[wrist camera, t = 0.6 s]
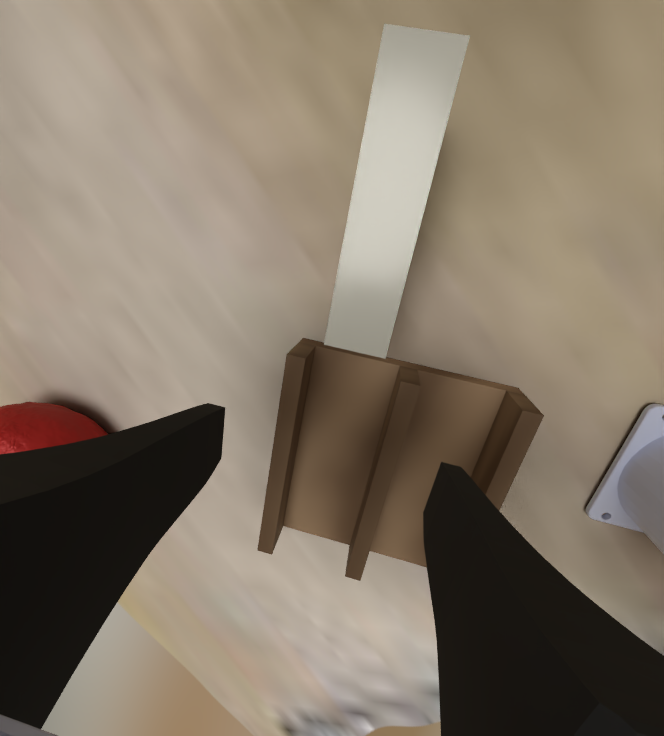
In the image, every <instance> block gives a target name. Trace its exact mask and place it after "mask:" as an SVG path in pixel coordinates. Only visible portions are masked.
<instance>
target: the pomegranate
mask: <svg viewBox="0 0 664 736" xmlns="http://www.w3.org/2000/svg"><path fill="white" fill-rule="evenodd" d="M104 435H108V434H107V433H106V432H105V431H104V430H103V429H102V428H101V427H100V426H99V425H98V424H97V423H96V422H95V421H93V420H92V419H90V418H89V417H87V416H85V415H83V414H80V413H77V412H75V411H72V410H70V409H68V408H66V407H64V406H60V405H54V404H50V403H36V402H26V403H21V404H12V405H6V406H2V407H0V454H7V453H15V452H22V451H28V450H34V449H40V448H46V447H52V446H58V445H64V444H69V443H74V442H78V441H83V440H87V439H92V438H96V437H100V436H104Z"/></svg>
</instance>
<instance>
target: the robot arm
mask: <svg viewBox="0 0 664 736" xmlns="http://www.w3.org/2000/svg"><path fill="white" fill-rule="evenodd" d="M663 415H664V405H661V404H651V405H648V406H647V407H646V408H645V409H644V410H643V412H642V413H641V415H640V417H639V419H638V420H637V422H636V424H635V425H634V427H633V429H632V431H631V432H630V434H629V436H628V437H627V439H626V441H625V442H624V444H623V446H622V448H621V449H620V451H619V453H618V454H617V456H616V458H615V459H614V461H613V463H612V465H611V466H610V468H609V470H608V471H607V473H606V475H605V477H604V478H603V480H602V482H601V483H600V485H599V487H598V488H597V490H596V492H595V494H594V495H593V497H592V499H591V500H590V502H589V504H588V506H587V507H586V513H587V515H588V516H589V517H590V518H591V519H593V520H597V521H601V522H605V523H608V524H612V525H616V526H620V527H624V528H628V529H631V530H635V531H639V532H643V533H645V534H646V535H647V537H648V538H649V539H650V540H651V541H652V542H653V543H654V544H655V545H656V547H657V548H658V549H659V550H660V551H661V552H662V553H663V554H664V418H662V416H663ZM224 416H225V407H221V406H217V405H213V404H209V403H207V404H203V405H200V406H196V407H193V408H190V409H187V410H184V411H181V412H178V413H175V414H172V415H170V416H167V417H164V418H161V419H158V420H155V421H152V422H149V423H145V424H142V425H139V426H136V427H132V428H129V429H126V430H122V431H119V432H116V433H112V434H108V435H104V436H100V437H96V438H92V439H87V440H83V441H78V442H74V443H69V444H64V445H58V446H52V447H46V448H40V449H34V450H28V451H22V452H15V453H7V454H0V736H57V735H55V734H52V733H49V732H46V731H44V730H41V728H42V726H43V724H44V723H45V721H46V719H47V718H48V716H49V714H50V712H51V711H52V709H53V707H54V705H55V704H56V702H57V700H58V699H59V697H60V695H61V693H62V692H63V689H64V688H65V686H66V684H67V683H68V681H69V680H70V678H71V676H72V674H73V673H74V671H75V669H76V668H77V666H78V664H79V663H80V661H81V659H82V658H83V656H84V654H85V653H86V651H87V650H88V648H89V646H90V644H91V643H92V641H93V640H94V638H95V637H96V635H97V633H98V632H99V630H100V628H101V627H102V625H103V623H104V622H105V620H106V619H107V617H108V616H109V614H110V612H111V611H112V609H113V608H114V606H115V605H116V603H117V602H118V600H119V599H120V597H121V595H122V594H123V592H124V591H125V589H126V588H127V586H128V585H129V583H130V582H131V580H132V579H133V577H134V576H135V574H136V573H137V571H138V570H139V568H140V567H141V565H142V564H143V562H144V561H145V559H146V558H147V556H148V555H149V554H150V552H151V551H152V550H153V548H154V547H155V546H156V544H157V543H158V542H159V540H160V539H161V538H162V537H163V535H164V534H165V533H166V532H167V531H168V529H169V528H170V527H171V526H172V525H173V523H174V522H175V521H176V520H177V518H178V517H179V516H180V515H181V514H182V512H183V511H184V510H185V509H186V508H187V506H188V505H189V504H190V503H191V501H192V500H193V499H194V498H195V496H196V495H197V494H198V493H199V492H200V490H201V489H202V488H203V486H204V485H205V484H206V482H207V481H208V479H209V478H210V476H211V475H212V473H213V471H214V470H215V468H216V466H217V465H218V463H219V461H220V460H221V455H222V442H223V429H224ZM603 513H606V514H604V515H602V514H603ZM423 538H424V550H425V557H426V564H427V571H428V578H429V585H430V592H431V599H432V605H433V612H434V619H435V628H436V637H437V652H438V670H439V692H440V719H441V736H664V656H663V655H662V654H660V653H659V652H657V651H656V650H655V649H653V648H652V647H651V646H649V645H648V644H647V643H645V642H644V641H642V640H641V639H640V638H638V637H637V636H636V635H635V634H633V633H632V632H631V631H629V630H628V629H627V628H625V627H624V626H623V625H622V624H620V623H619V622H618V621H616V620H615V619H614V618H613V617H611V616H610V615H609V614H608V613H607V612H605V611H604V610H603V609H602V608H600V607H599V606H598V605H597V604H595V603H594V602H593V601H592V600H591V599H589V598H588V597H587V596H586V595H585V594H583V593H582V592H581V591H580V590H579V589H578V588H576V587H575V586H574V585H573V584H572V583H571V582H569V581H568V580H567V579H566V578H565V577H564V576H563V575H562V574H561V573H560V572H559V571H557V570H556V569H555V568H554V567H553V566H552V565H551V564H550V563H549V562H548V561H547V560H545V559H544V558H543V557H542V556H541V555H540V554H539V553H538V552H537V551H536V550H535V549H534V548H533V547H532V546H531V545H530V544H529V543H528V542H527V541H526V540H525V538H524V537H523V536H522V535H521V534H520V533H519V532H518V531H517V530H516V529H515V528H514V527H513V526H512V525H511V524H510V523H509V521H508V520H507V519H506V518H505V517H504V516H503V515H502V514H501V513H500V511H499V510H498V509H497V508H496V507H495V506H494V504H493V503H492V502H491V501H490V500H489V499H488V497H487V496H486V495H485V494H484V493H483V492H482V490H481V489H480V488H479V487H478V486H477V484H476V483H475V482H474V481H473V480H472V478H471V477H470V476H469V475H468V474H467V473H466V472H465V470H464V469H463V468H462V467H460V466H456V465H452V464H448V463H444V462H441V464H440V467H439V469H438V472H437V475H436V478H435V481H434V483H433V486H432V489H431V492H430V495H429V497H428V500H427V503H426V506H425V509H424V511H423Z"/></svg>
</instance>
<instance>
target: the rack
mask: <svg viewBox="0 0 664 736" xmlns="http://www.w3.org/2000/svg"><path fill="white" fill-rule="evenodd" d="M543 416H544V415H543V414H542V413H541V412H540V411H539V410H538V409H537V408H536V407H535V405H534V404H533V403H532V402H531V401H530V400H529V399H528V398H527V397H526V396H525V395H524V394H523V393H522V391H521V390H520V389H519V388H516V387H511V386H507V385H503V384H499V383H494V382H490V381H486V380H481V379H477V378H473V377H468V376H464V375H460V374H456V373H451V372H447V371H443V370H438V369H434V368H430V367H426V366H421V365H417V364H413V363H408V362H404V361H400V360H396V359H391V358H387V357H386V359H384V358H380V357H375V356H371V355H367V354H362V353H358V352H354V351H350V350H345V349H341V348H337V347H332V346H328V345H324V343H323V342H318V341H314V340H310V339H305V338H303V339H302V340H301V341H300V342H299V343H298V344H297V345H296V346H295V347H294V348H293V349H292V350H291V351H290V352H289V353H288V354H287V357H286V364H285V370H284V377H283V384H282V390H281V397H280V404H279V410H278V417H277V424H276V430H275V437H274V444H273V450H272V457H271V464H270V471H269V477H268V484H267V491H266V497H265V504H264V511H263V517H262V524H261V531H260V537H259V544H258V551H262V552H265V553H269V554H272V553H273V550H274V548H275V545H276V543H277V540H278V538H279V535H280V533H281V530H282V528H283V526H286V527H289V528H293V529H296V530H300V531H303V532H307V533H310V534H314V535H317V536H320V537H324V538H327V539H331V540H334V541H338V542H341V543H345V544H348V545H350V546H349V553H348V560H347V567H346V574H345V576H346V577H349V578H353V579H356V580H359V581H360V580H361V577H362V573H363V570H364V567H365V564H366V561H367V557H368V554H369V551H373V552H376V553H379V554H383V555H386V556H390V557H393V558H397V559H400V560H404V561H407V562H411V563H414V564H418V565H421V566H425V567H427V564H426V557H425V550H424V538H423V511H424V509H425V506H426V503H427V500H428V497H429V495H430V492H431V489H432V486H433V483H434V481H435V478H436V475H437V472H438V469H439V467H440V464H441V462H444V463H448V464H452V465H456V466H460V467H462V468H463V469H464V470H465V472H466V473H467V474H468V475H469V476H470V477H471V478H472V480H473V481H474V482H475V483H476V484H477V486H478V487H479V488H480V489H481V490H482V492H483V493H484V494H485V495H486V496H487V497H488V499H489V500H490V501H491V502H492V503H493V504H494V506H495V507H496V508H497V509H498V510H500V508H501V506H502V503H503V501H504V499H505V497H506V495H507V493H508V491H509V489H510V486H511V484H512V482H513V480H514V478H515V476H516V474H517V472H518V469H519V467H520V465H521V463H522V461H523V459H524V457H525V455H526V452H527V450H528V448H529V446H530V444H531V442H532V440H533V438H534V435H535V433H536V431H537V429H538V427H539V425H540V423H541V421H542V418H543Z"/></svg>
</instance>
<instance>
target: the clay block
mask: <svg viewBox="0 0 664 736" xmlns="http://www.w3.org/2000/svg"><path fill="white" fill-rule="evenodd" d="M469 37H470V36H468V35H461V34H454V33H447V32H440V31H433V30H426V29H419V28H412V27H405V26H398V25H391V24H384V28H383V33H382V39H381V44H380V49H379V55H378V60H377V65H376V70H375V76H374V81H373V86H372V92H371V97H370V102H369V107H368V113H367V118H366V123H365V129H364V134H363V139H362V145H361V150H360V155H359V160H358V166H357V171H356V176H355V182H354V187H353V192H352V197H351V203H350V208H349V213H348V219H347V224H346V229H345V235H344V240H343V245H342V250H341V256H340V261H339V266H338V272H337V277H336V282H335V287H334V293H333V298H332V303H331V309H330V314H329V319H328V325H327V330H326V335H325V340H324V345H328V346H332V347H337V348H341V349H345V350H350V351H354V352H358V353H362V354H367V355H371V356H375V357H380V358H384V359H386V355H387V351H388V347H389V343H390V340H391V336H392V332H393V328H394V324H395V320H396V317H397V313H398V309H399V305H400V301H401V298H402V294H403V290H404V286H405V282H406V278H407V275H408V271H409V267H410V263H411V259H412V255H413V252H414V248H415V244H416V240H417V236H418V233H419V229H420V225H421V221H422V217H423V213H424V210H425V206H426V202H427V198H428V194H429V190H430V187H431V183H432V179H433V175H434V171H435V167H436V164H437V160H438V156H439V152H440V148H441V145H442V141H443V137H444V133H445V129H446V125H447V122H448V118H449V114H450V110H451V106H452V102H453V99H454V95H455V91H456V87H457V83H458V80H459V76H460V72H461V68H462V64H463V60H464V57H465V53H466V49H467V45H468V41H469Z"/></svg>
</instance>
